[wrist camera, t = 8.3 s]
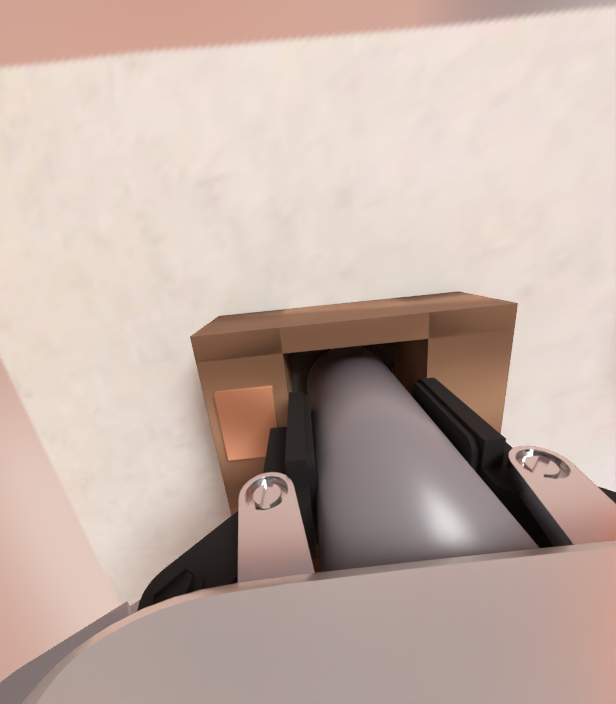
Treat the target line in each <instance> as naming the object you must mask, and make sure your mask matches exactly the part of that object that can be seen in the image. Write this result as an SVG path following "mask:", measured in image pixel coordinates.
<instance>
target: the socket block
mask: <svg viewBox="0 0 616 704" xmlns="http://www.w3.org/2000/svg"><path fill="white" fill-rule="evenodd" d="M517 305H518V303H514V302H509V301H504V300H499V299H493V298H488V297H483V296H478V295H473V294H468V293H463V292H450V293H441V294H431V295H421V296H411V297H401V298H392V299H382V300H372V301H362V302H352V303H343V304H333V305H323V306H313V307H303V308H293V309H284V310H274V311H264V312H254V313H244V314H235V315H225V316H218V317H217V318H216V319H214V320H213V321H211V322H210V323H209V324H207V325H206V326H204V327H203V328H202V329H200V330H199V331H197V332H196V333H195V334H193V335H192V336H191V337H190V338H191V343H192V347H193V351H194V355H195V360H196V364H197V368H198V373H199V377H200V381H201V386H202V390H203V394H204V398H205V403H206V407H207V411H208V416H209V420H210V424H211V429H212V433H213V437H214V441H215V446H216V450H217V454H218V459H219V463H220V467H221V472H222V476H223V480H224V484H225V489H226V493H227V497H228V502H229V506H230V510H231V515H233V514H235V513H236V512H237V511H238V509H239V495H240V491H241V490H242V488H243V486H244V485H245V484H246V483H247V482H248V481H249V480H250V479H252V478H254V477H255V476H257V475H260V474H263V470H264V464H265V458H266V452H267V446H268V439H269V433H270V429H271V428H276V427H286V426H287V417H288V401H289V392H294V386H293V378H292V370H291V362H290V354H289V353H294V352H303V351H313V350H323V349H332V348H342V347H352V346H362V345H371V344H381V343H391V342H394V376H395V377H396V378H397V379H398V380H399V382H400V383H401V384H402V385H403V386H404V388H405V389H406V390H407V391H408V392H409V393H410V395H411V396H412V397H413V384H414V383H417V381H418V379H424V378H436V379H437V380H438V381H439V382H440V383H442V384H443V385H444V386H445V387H446V388H447V389H449V390H450V391H451V392H452V393H453V394H454V395H456V396H457V397H458V398H459V399H460V400H461V401H463V402H464V403H465V404H466V405H467V406H468V407H470V408H471V409H472V410H473V411H474V412H475V413H477V414H478V415H479V416H480V417H481V418H482V419H484V420H485V421H486V422H487V423H488V424H489V425H491V426H492V427H493V428H494V429H495V430H496V431H498V432H499V433H501V426H502V418H503V411H504V403H505V396H506V388H507V381H508V373H509V365H510V358H511V350H512V343H513V335H514V328H515V320H516V313H517ZM317 557H318V558H315V559H314V560H313V561H312V564H313V568H314V572H315V573H318V572H321V560H320V547H319V545H317Z"/></svg>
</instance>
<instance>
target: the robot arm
mask: <svg viewBox="0 0 616 704" xmlns="http://www.w3.org/2000/svg"><path fill="white" fill-rule="evenodd" d="M413 398H414V399H415V401H416V402H417V403H418V404H419V405H420V406H421V408H422V409H423V410H424V411H425V412H426V414H427V415H428V416H429V417H430V418H431V420H432V421H433V422H434V423H435V424H436V425H437V427H438V428H439V429H440V430H441V431H442V433H443V434H444V435H445V436H446V437H447V439H448V440H449V441H450V442H451V443H452V444H453V446H454V447H455V448H456V449H457V450H458V452H459V453H460V454H461V455H462V456H463V458H464V459H465V460H466V461H467V462H468V463H469V465H470V466H471V467H472V468H473V469H474V471H475V472H476V473H477V474H478V475H479V476H480V478H481V479H482V480H483V481H484V482H485V484H486V485H487V486H488V487H489V488H490V490H491V491H492V492H493V493H494V494H495V495H496V497H497V498H498V499H499V500H500V501H501V503H502V504H503V505H504V506H505V507H506V509H507V510H508V511H509V512H510V513H511V514H512V516H513V517H514V518H515V519H516V520H517V522H518V523H519V524H520V525H521V526H522V528H523V529H524V530H525V531H526V532H527V533H528V535H529V536H530V537H531V538H532V539H533V541H534V542H535V543H536V544H537V545H538V547H539V548H538V549H529V550H519V551H510V552H500V553H491V554H481V555H472V556H462V557H453V558H444V559H434V560H425V561H416V562H407V563H398V564H389V565H380V566H371V567H363V568H354V569H345V570H336V571H327V572H318V573H315V572H314V568H313V564H312V561H313V560H314V559H315V558H318V557H317V545H319V534H318V521H317V509H316V495H317V489H318V487H317V476H316V465H315V453H314V442H313V431H312V420H311V409H310V400H309V394H305V395H304V394H303V391H298V392H289V401H288V417H287V426H286V427H276V428H271V429H270V433H269V439H268V446H267V452H266V458H265V464H264V470H263V474H260V475H257V476H255V477H254V478H252V479H250V480H249V481H248V482H247V483H246V484H245V485H244V486H243V488H242V490H241V491H240V495H239V509H238V511H237V512H236V513H235V514H233V515H232V516H231V517H230V518H228V519H227V520H226V521H224V522H223V523H222V524H221V525H219V526H218V527H217V528H216V529H214V530H213V531H212V532H211V533H209V534H208V535H207V536H205V537H204V538H203V539H202V540H200V541H199V542H198V543H197V544H195V545H194V546H193V547H192V548H190V549H189V550H188V551H186V552H185V553H184V554H183V555H181V556H180V557H179V558H178V559H176V560H175V561H174V562H173V563H171V564H170V565H169V566H167V567H166V568H165V569H164V570H162V571H161V572H160V573H159V574H158V575H157V576H156V577H155V578H154V579H153V580H152V581H151V583H150V584H149V585H148V587H147V588H146V590H145V591H144V593H143V595H142V597H141V600H139V601H138V602H136V603H134V604H133V605H131V606H129V604H128V602H125V603H124V604H122V605H121V606H119V607H117V608H116V609H114V610H113V611H111V612H109V613H108V614H106V615H104V616H103V617H102V618H100V619H98V620H96V621H95V622H93V623H92V624H90V625H88V626H87V627H85V628H84V629H82V630H80V631H79V632H77V633H75V634H74V635H72V636H71V637H69V638H67V639H66V640H64V641H63V642H61V643H59V644H58V645H57V646H55V647H53V648H51V649H50V650H48V651H46V652H45V653H44V654H42V655H40V656H39V657H37V658H35V659H34V660H32V661H30V662H29V663H27V664H26V665H24V666H22V667H21V668H19V669H18V670H16V671H15V672H13V673H12V674H11V675H10V676H8V677H7V678H6V679H4V680H3V681H2V682H1V683H0V704H616V492H613V491H610V490H607V489H604V488H601V487H598V486H596V485H595V484H594V483H593V482H592V481H591V480H590V479H589V478H588V477H587V476H586V475H585V474H584V473H583V472H581V471H580V470H579V469H578V468H577V467H576V466H575V465H574V464H573V463H572V462H570V461H569V460H568V459H567V458H565V457H563V456H561V455H559V454H557V453H555V452H553V451H550V450H547V449H544V448H540V447H535V446H518V447H515V448H512V447H511V446H510V445H509V444H507V443H506V438H505V437H503V436H502V435H501V434H500V433H499V432H498V431H496V430H495V429H494V428H493V427H492V426H491V425H489V424H488V423H487V422H486V421H485V420H484V419H482V418H481V417H480V416H479V415H478V414H477V413H475V412H474V411H473V410H472V409H471V408H470V407H468V406H467V405H466V404H465V403H464V402H463V401H461V400H460V399H459V398H458V397H457V396H456V395H454V394H453V393H452V392H451V391H450V390H449V389H447V388H446V387H445V386H444V385H443V384H442V383H440V382H439V381H438V380H437V379H436V378H424V379H418V381H417V383H414V384H413Z"/></svg>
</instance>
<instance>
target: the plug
mask: <svg viewBox="0 0 616 704" xmlns="http://www.w3.org/2000/svg"><path fill="white" fill-rule="evenodd" d="M307 393H308V394H309V400H310V409H311V420H312V431H313V442H314V453H315V465H316V476H317V487H318V489H317V495H316V509H317V521H318V534H319V547H320V560H321V572H327V571H336V570H345V569H354V568H363V567H371V566H380V565H389V564H398V563H407V562H416V561H425V560H434V559H444V558H453V557H462V556H472V555H481V554H491V553H500V552H510V551H519V550H529V549H538V548H539V547H538V545H537V544H536V543H535V542H534V541H533V539H532V538H531V537H530V536H529V535H528V533H527V532H526V531H525V530H524V529H523V528H522V526H521V525H520V524H519V523H518V522H517V520H516V519H515V518H514V517H513V516H512V514H511V513H510V512H509V511H508V510H507V509H506V507H505V506H504V505H503V504H502V503H501V501H500V500H499V499H498V498H497V497H496V495H495V494H494V493H493V492H492V491H491V490H490V488H489V487H488V486H487V485H486V484H485V482H484V481H483V480H482V479H481V478H480V476H479V475H478V474H477V473H476V472H475V471H474V469H473V468H472V467H471V466H470V465H469V463H468V462H467V461H466V460H465V459H464V458H463V456H462V455H461V454H460V453H459V452H458V450H457V449H456V448H455V447H454V446H453V444H452V443H451V442H450V441H449V440H448V439H447V437H446V436H445V435H444V434H443V433H442V431H441V430H440V429H439V428H438V427H437V425H436V424H435V423H434V422H433V421H432V420H431V418H430V417H429V416H428V415H427V414H426V412H425V411H424V410H423V409H422V408H421V406H420V405H419V404H418V403H417V402H416V401H415V399H414V398H413V397H412V396H411V395H410V393H409V392H408V391H407V390H406V389H405V388H404V386H403V385H402V384H401V383H400V382H399V380H398V379H397V378H396V377H395V376H394V374H393V373H392V372H391V371H390V370H389V369H388V367H387V366H386V365H385V364H384V363H383V361H382V360H381V359H380V358H379V357H378V356H377V355H376V354H374V353H373V352H372V351H370V350H368V349H365V348H363V347H358V346H352V347H342V348H335V349H332V350H330V351H328V352H327V353H325V354H324V355H322V356H321V357H320V358H319V359H318V360H317V361H316V362H315V364H314V365H313V367H312V368H311V370H310V373H309V376H308V380H307Z"/></svg>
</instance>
